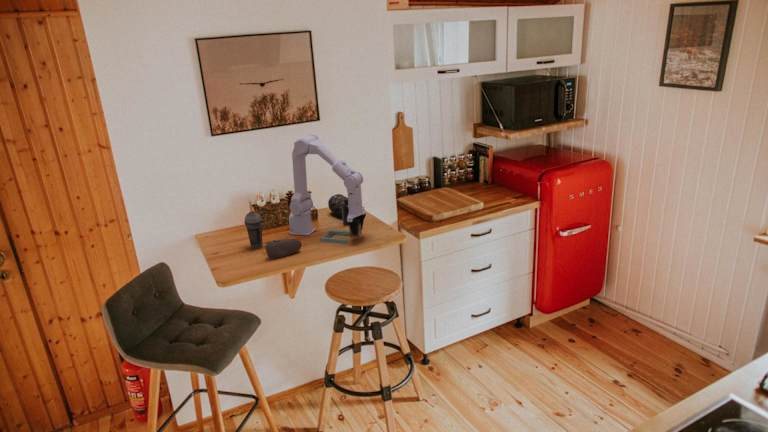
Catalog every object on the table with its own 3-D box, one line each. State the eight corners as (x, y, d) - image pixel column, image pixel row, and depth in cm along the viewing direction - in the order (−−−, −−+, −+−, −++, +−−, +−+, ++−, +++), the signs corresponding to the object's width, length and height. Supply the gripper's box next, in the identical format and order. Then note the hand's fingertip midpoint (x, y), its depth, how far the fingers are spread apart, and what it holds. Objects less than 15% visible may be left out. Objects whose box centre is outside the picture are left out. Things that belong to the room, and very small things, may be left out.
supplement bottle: (351, 226, 239) (349, 201, 235) (340, 224, 243) (337, 199, 239) (360, 222, 244) (359, 197, 240) (349, 219, 248) (347, 195, 244)
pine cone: (344, 222, 245) (342, 202, 242) (325, 214, 259) (323, 194, 256) (363, 217, 251) (361, 197, 247) (343, 209, 264) (341, 190, 261)
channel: (320, 241, 224) (319, 238, 224) (329, 233, 233) (329, 230, 232) (346, 243, 220) (345, 240, 220) (354, 235, 229) (354, 232, 228)
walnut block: (350, 237, 221) (349, 225, 220) (352, 233, 225) (351, 222, 224) (359, 237, 221) (358, 226, 219) (361, 234, 224) (361, 223, 223)
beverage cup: (250, 251, 217) (243, 205, 211) (246, 246, 224) (239, 201, 217) (267, 247, 221) (261, 202, 214) (263, 242, 227) (256, 198, 220)
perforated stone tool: (300, 249, 217) (298, 233, 215) (304, 253, 213) (302, 237, 211) (264, 257, 212) (262, 241, 209) (267, 261, 207) (265, 245, 205)
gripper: (357, 207, 210) (359, 239, 214) (370, 197, 223) (372, 227, 227) (341, 206, 212) (343, 238, 217) (354, 196, 225) (357, 226, 230)
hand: (357, 232), depth 222 cm, fingers closed on walnut block, 4 cm apart
